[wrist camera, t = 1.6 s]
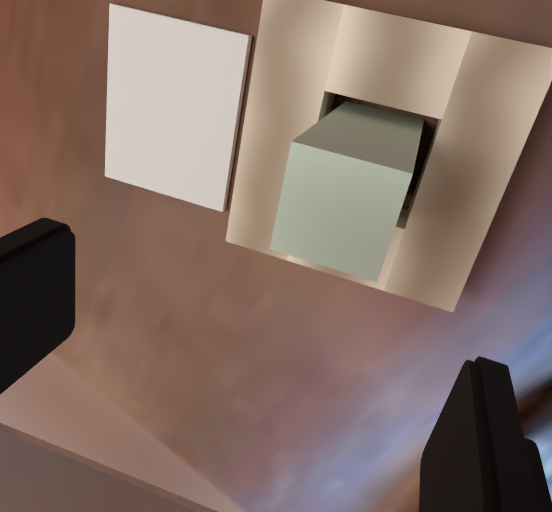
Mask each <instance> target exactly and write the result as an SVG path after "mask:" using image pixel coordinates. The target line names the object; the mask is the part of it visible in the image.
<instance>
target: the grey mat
mask: <svg viewBox="0 0 552 512" xmlns="http://www.w3.org/2000/svg"><path fill="white" fill-rule="evenodd" d="M251 40H252V35H248V34H243V33H239V32H235V31H230V30H226V29H222V28H217V27H213V26H209V25H204V24H200V23H196V22H191V21H187V20H183V19H178V18H174V17H170V16H165V15H161V14H156V13H152V12H148V11H143V10H139V9H135V8H130V7H126V6H122V5H117V4H110V8H109V44H108V80H107V116H106V152H105V176H106V177H109V178H112V179H116V180H119V181H122V182H125V183H129V184H132V185H135V186H139V187H142V188H145V189H148V190H152V191H155V192H158V193H162V194H165V195H168V196H172V197H175V198H178V199H181V200H185V201H188V202H191V203H195V204H198V205H201V206H204V207H208V208H211V209H214V210H218V211H221V212H223V211H224V210H226V205H227V199H228V192H229V186H230V179H231V172H232V166H233V159H234V153H235V146H236V139H237V133H238V126H239V120H240V113H241V106H242V100H243V93H244V87H245V80H246V73H247V67H248V60H249V54H250V47H251Z"/></svg>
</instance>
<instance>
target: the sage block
mask: <svg viewBox="0 0 552 512" xmlns="http://www.w3.org/2000/svg"><path fill="white" fill-rule="evenodd" d="M423 123H424V120H423V119H419V118H415V117H411V116H407V115H403V114H399V113H395V112H391V111H387V110H383V109H379V108H375V107H371V106H366V105H362V104H358V103H354V102H350V101H346V102H344V103H343V104H342V105H340V106H339V107H337V108H336V109H335V110H333V111H332V112H331V113H329V114H328V115H327V116H325V117H324V118H322V119H321V120H320V121H318V122H317V123H316V124H314V125H313V126H312V127H310V128H309V129H308V130H306V131H305V132H303V133H302V134H301V135H299V136H298V137H297V138H295V139H294V140H293V141H291V146H290V151H289V156H288V161H287V166H286V170H285V175H284V180H283V185H282V190H281V195H280V200H279V205H278V210H277V215H276V220H275V224H274V229H273V234H272V239H271V244H270V249H271V250H274V251H278V252H281V253H284V254H287V255H290V256H294V257H297V258H300V259H303V260H306V261H310V262H313V263H316V264H319V265H322V266H326V267H329V268H332V269H335V270H338V271H342V272H345V273H348V274H351V275H355V276H358V277H361V278H364V279H367V280H371V281H374V282H377V281H378V278H379V275H380V272H381V269H382V266H383V263H384V260H385V257H386V254H387V251H388V248H389V245H390V242H391V239H392V236H393V233H394V230H395V227H396V224H397V221H398V218H399V215H400V212H401V208H402V205H403V202H404V199H405V196H406V193H407V190H408V187H409V184H410V181H411V178H412V175H413V171H414V166H415V161H416V157H417V152H418V147H419V142H420V137H421V133H422V128H423Z"/></svg>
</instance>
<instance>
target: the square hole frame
mask: <svg viewBox="0 0 552 512" xmlns="http://www.w3.org/2000/svg"><path fill="white" fill-rule="evenodd" d="M551 81H552V48H548V47H543V46H539V45H534V44H529V43H524V42H520V41H515V40H510V39H505V38H501V37H496V36H491V35H486V34H482V33H477V32H472V31H467V30H463V29H458V28H453V27H448V26H444V25H439V24H434V23H429V22H425V21H420V20H415V19H410V18H406V17H401V16H396V15H391V14H387V13H382V12H377V11H372V10H368V9H363V8H358V7H353V6H349V5H344V4H339V3H334V2H330V1H325V0H263V5H262V11H261V18H260V24H259V30H258V37H257V43H256V50H255V56H254V62H253V69H252V75H251V82H250V88H249V94H248V101H247V107H246V114H245V120H244V126H243V133H242V139H241V146H240V152H239V158H238V165H237V171H236V178H235V184H234V190H233V197H232V203H231V210H230V216H229V222H228V229H227V235H226V241H227V242H230V243H233V244H236V245H240V246H243V247H246V248H249V249H252V250H255V251H259V252H262V253H265V254H268V255H271V256H275V257H278V258H281V259H284V260H287V261H290V262H294V263H297V264H300V265H303V266H306V267H309V268H313V269H316V270H319V271H322V272H325V273H329V274H332V275H335V276H338V277H341V278H344V279H348V280H351V281H354V282H357V283H360V284H363V285H367V286H370V287H373V288H376V289H379V290H383V291H386V292H389V293H392V294H395V295H398V296H402V297H405V298H408V299H411V300H414V301H418V302H421V303H424V304H427V305H430V306H433V307H437V308H440V309H443V310H446V311H449V312H452V313H453V311H454V309H455V306H456V304H457V302H458V299H459V297H460V295H461V292H462V290H463V288H464V285H465V283H466V281H467V278H468V276H469V274H470V271H471V269H472V267H473V264H474V262H475V259H476V257H477V255H478V252H479V250H480V248H481V245H482V243H483V241H484V238H485V236H486V234H487V231H488V229H489V227H490V224H491V222H492V220H493V217H494V215H495V213H496V210H497V208H498V206H499V203H500V201H501V198H502V196H503V194H504V191H505V189H506V187H507V184H508V182H509V180H510V177H511V175H512V173H513V170H514V168H515V166H516V163H517V161H518V159H519V156H520V154H521V152H522V149H523V147H524V145H525V142H526V140H527V137H528V135H529V133H530V130H531V128H532V126H533V123H534V121H535V119H536V116H537V114H538V112H539V109H540V107H541V105H542V102H543V100H544V98H545V95H546V93H547V91H548V88H549V86H550V84H551ZM335 94H340V95H344V96H348V97H352V98H356V99H360V100H364V101H368V102H372V103H376V104H380V105H384V106H389V107H393V108H397V109H401V110H405V111H409V112H413V113H417V114H421V115H425V116H429V117H433V118H437V119H439V120H438V123H437V126H436V129H435V132H434V135H433V138H432V141H431V144H430V147H429V150H428V153H427V156H426V159H425V162H424V165H423V168H422V171H421V174H420V177H419V180H418V183H417V186H416V189H415V192H414V195H413V198H412V201H411V203H410V206H409V209H406V208H403V207H402V208H401V212H400V215H399V218H398V221H397V224H396V227H395V230H394V233H393V236H392V239H391V242H390V245H389V248H388V251H387V254H386V257H385V260H384V263H383V266H382V269H381V272H380V275H379V278H378V281H377V282H374V281H371V280H367V279H364V278H361V277H358V276H355V275H351V274H348V273H345V272H342V271H338V270H335V269H332V268H329V267H326V266H322V265H319V264H316V263H313V262H310V261H306V260H303V259H300V258H297V257H294V256H290V255H287V254H284V253H281V252H278V251H274V250H271V249H270V244H271V239H272V234H273V229H274V224H275V220H276V215H277V210H278V205H279V200H280V195H281V190H282V185H283V180H284V175H285V170H286V166H287V161H288V156H289V151H290V146H291V141H293V140H294V139H295V138H297V137H298V136H299V135H301V134H302V133H303V132H305V131H306V130H308V129H309V128H310V127H312V126H313V125H314V124H316V123H317V122H318V121H320V120H321V119H322V118H324V117H325V116H327V115H328V114H329V113H331V109H332V105H333V101H334V96H335Z"/></svg>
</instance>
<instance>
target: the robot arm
mask: <svg viewBox="0 0 552 512" xmlns="http://www.w3.org/2000/svg"><path fill="white" fill-rule="evenodd" d="M74 326H75V235H74V234H73V233H72V232H71V230H70V227H69V226H68V225H67V224H64V223H61V222H58V221H55V220H52V219H48V218H41V219H39V220H36V221H34V222H32V223H30V224H28V225H26V226H24V227H22V228H20V229H17V230H15V231H13V232H11V233H9V234H7V235H5V236H3V237H1V238H0V394H1V393H2V392H4V391H5V390H6V389H7V388H8V387H10V386H11V385H12V384H13V383H15V382H16V381H17V380H18V379H19V378H20V377H22V376H23V375H24V374H25V373H26V372H28V371H29V370H30V369H31V368H32V367H34V366H35V365H36V364H37V363H38V362H40V361H41V360H42V359H43V358H44V357H46V356H47V355H48V354H49V353H50V352H52V351H53V350H54V349H55V348H56V347H58V346H59V345H60V344H61V343H62V342H64V341H65V340H66V339H67V338H68V337H69V336H70V335H71V333H72V331H73V329H74ZM0 512H217V511H215V510H212V509H210V508H207V507H205V506H202V505H200V504H198V503H195V502H193V501H190V500H188V499H186V498H183V497H181V496H178V495H176V494H174V493H171V492H169V491H166V490H164V489H161V488H159V487H156V486H154V485H152V484H149V483H147V482H144V481H142V480H139V479H137V478H135V477H132V476H130V475H127V474H124V473H122V472H120V471H117V470H115V469H113V468H110V467H107V466H105V465H103V464H100V463H98V462H95V461H93V460H90V459H88V458H85V457H83V456H81V455H78V454H76V453H73V452H71V451H68V450H66V449H63V448H61V447H59V446H56V445H53V444H51V443H49V442H46V441H44V440H41V439H38V438H36V437H34V436H31V435H29V434H26V433H24V432H21V431H19V430H17V429H14V428H12V427H9V426H7V425H4V424H1V423H0ZM419 512H552V502H551V498H550V494H549V490H548V486H547V482H546V478H545V474H544V470H543V466H542V462H541V458H540V454H539V450H538V447H537V445H536V443H535V442H534V441H532V440H530V439H527V438H524V435H523V431H522V426H521V422H520V417H519V413H518V408H517V404H516V399H515V395H514V390H513V386H512V381H511V377H510V372H509V368H508V366H507V365H505V364H502V363H499V362H496V361H492V360H489V359H486V358H483V357H480V356H479V357H477V358H476V360H475V361H474V362H473V361H470V360H466V361H465V362H464V364H463V366H462V368H461V371H460V373H459V375H458V377H457V379H456V381H455V384H454V386H453V388H452V390H451V392H450V394H449V396H448V399H447V401H446V403H445V405H444V407H443V409H442V412H441V414H440V416H439V418H438V420H437V422H436V425H435V427H434V429H433V431H432V433H431V435H430V437H429V440H428V442H427V444H426V446H425V448H424V451H423V454H422V458H421V465H420V496H419Z"/></svg>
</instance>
